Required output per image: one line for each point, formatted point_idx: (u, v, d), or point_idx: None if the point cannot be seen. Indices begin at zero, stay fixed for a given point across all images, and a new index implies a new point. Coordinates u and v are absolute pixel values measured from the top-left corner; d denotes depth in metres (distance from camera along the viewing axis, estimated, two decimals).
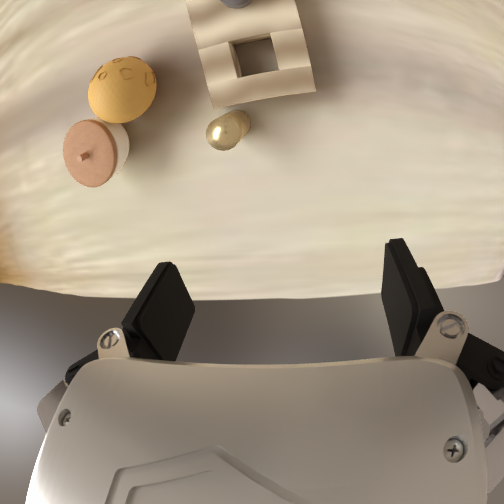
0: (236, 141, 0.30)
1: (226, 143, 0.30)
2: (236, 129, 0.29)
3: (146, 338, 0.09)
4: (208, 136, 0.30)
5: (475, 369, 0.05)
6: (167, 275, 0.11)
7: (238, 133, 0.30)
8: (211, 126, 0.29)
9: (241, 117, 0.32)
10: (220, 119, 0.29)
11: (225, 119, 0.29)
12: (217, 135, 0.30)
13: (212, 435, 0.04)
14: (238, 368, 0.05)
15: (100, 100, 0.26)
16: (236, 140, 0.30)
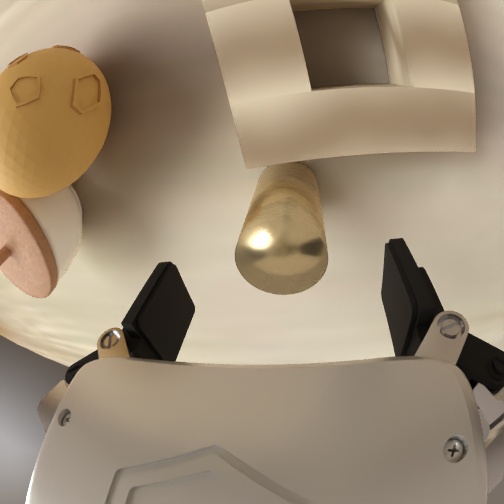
0: (315, 279, 0.12)
1: (289, 280, 0.12)
2: (319, 252, 0.11)
3: (146, 338, 0.09)
4: (241, 262, 0.12)
5: (475, 369, 0.05)
6: (167, 275, 0.11)
7: (324, 262, 0.12)
8: (250, 239, 0.11)
9: (313, 190, 0.14)
10: (278, 223, 0.11)
11: (293, 224, 0.11)
12: (266, 261, 0.12)
13: (212, 435, 0.04)
14: (238, 368, 0.05)
15: None
16: (316, 276, 0.12)
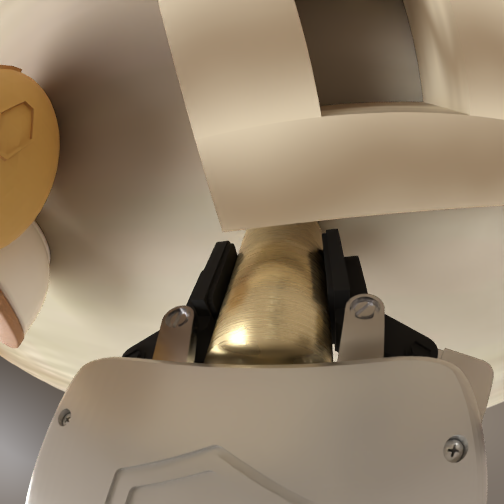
0: None
1: None
2: None
3: (215, 315, 0.10)
4: None
5: (391, 351, 0.07)
6: (229, 253, 0.12)
7: None
8: (223, 356, 0.07)
9: (317, 260, 0.10)
10: (262, 344, 0.07)
11: (285, 347, 0.07)
12: None
13: (212, 435, 0.04)
14: (238, 368, 0.05)
15: None
16: None
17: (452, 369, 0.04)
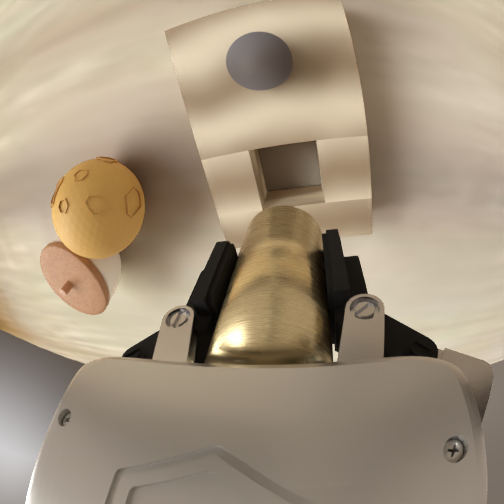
0: None
1: None
2: None
3: (215, 315, 0.10)
4: None
5: (391, 352, 0.07)
6: (229, 253, 0.12)
7: None
8: (223, 358, 0.07)
9: (317, 261, 0.10)
10: (262, 346, 0.07)
11: (285, 349, 0.07)
12: None
13: (212, 435, 0.04)
14: (238, 368, 0.05)
15: (69, 242, 0.20)
16: None
17: (452, 369, 0.04)
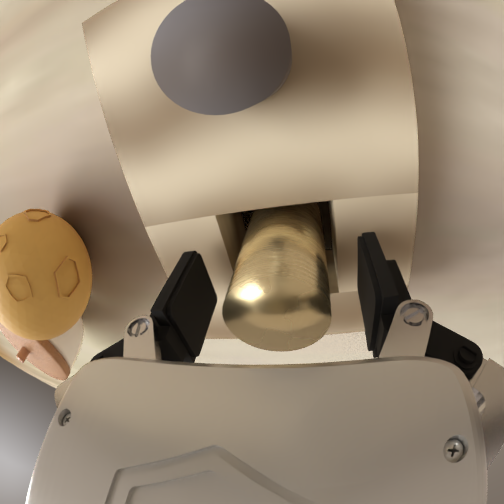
0: (316, 337, 0.10)
1: (285, 338, 0.10)
2: (322, 312, 0.09)
3: (175, 325, 0.10)
4: (230, 319, 0.10)
5: (440, 357, 0.06)
6: (194, 263, 0.12)
7: (327, 321, 0.10)
8: (240, 296, 0.09)
9: (315, 227, 0.12)
10: (273, 281, 0.09)
11: (291, 283, 0.09)
12: (259, 319, 0.10)
13: (212, 435, 0.04)
14: (238, 368, 0.05)
15: (3, 325, 0.13)
16: (316, 335, 0.10)
17: (452, 369, 0.04)
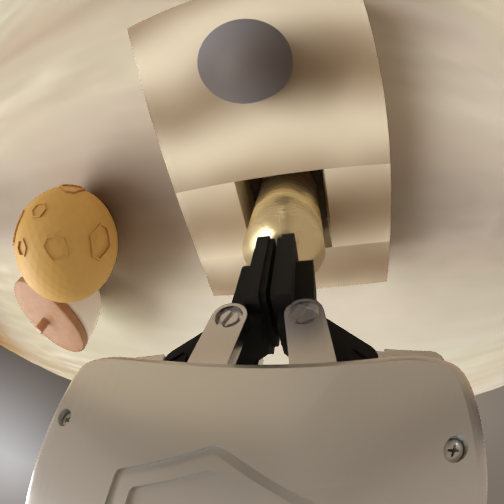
0: (314, 269, 0.14)
1: None
2: (317, 245, 0.13)
3: (266, 312, 0.09)
4: (248, 253, 0.14)
5: None
6: (272, 248, 0.11)
7: (322, 253, 0.13)
8: (256, 232, 0.13)
9: (311, 191, 0.16)
10: (281, 218, 0.12)
11: (294, 219, 0.12)
12: None
13: (212, 435, 0.04)
14: (238, 368, 0.05)
15: (33, 287, 0.16)
16: (314, 267, 0.14)
17: (452, 369, 0.04)
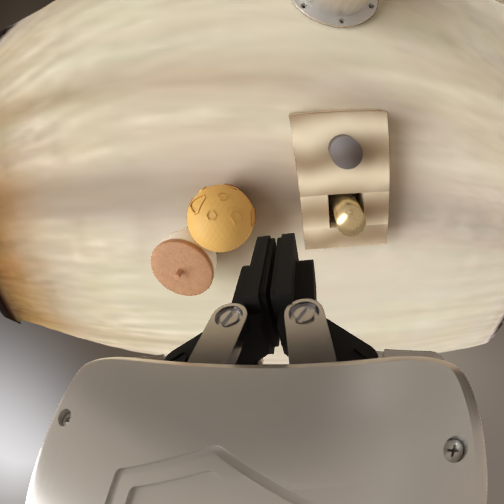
0: (361, 230, 0.35)
1: (353, 230, 0.35)
2: (363, 220, 0.34)
3: (266, 312, 0.09)
4: (338, 223, 0.35)
5: None
6: (272, 248, 0.11)
7: (364, 224, 0.34)
8: (343, 214, 0.34)
9: (357, 201, 0.37)
10: (352, 210, 0.33)
11: (357, 210, 0.33)
12: (347, 223, 0.35)
13: (212, 435, 0.04)
14: (238, 368, 0.05)
15: (210, 239, 0.37)
16: (361, 229, 0.35)
17: (452, 369, 0.04)
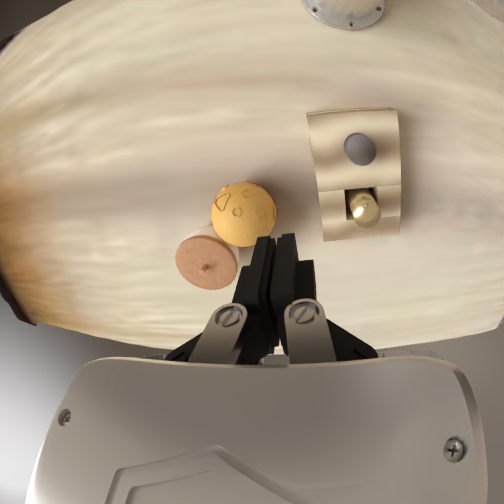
0: (376, 222, 0.36)
1: (369, 222, 0.37)
2: (378, 213, 0.35)
3: (266, 312, 0.09)
4: (355, 215, 0.36)
5: None
6: (272, 248, 0.11)
7: (379, 216, 0.36)
8: (360, 208, 0.36)
9: (371, 195, 0.39)
10: (368, 203, 0.35)
11: (372, 204, 0.35)
12: (363, 215, 0.36)
13: (212, 435, 0.04)
14: (238, 368, 0.05)
15: (236, 235, 0.39)
16: (377, 221, 0.36)
17: (452, 369, 0.04)
